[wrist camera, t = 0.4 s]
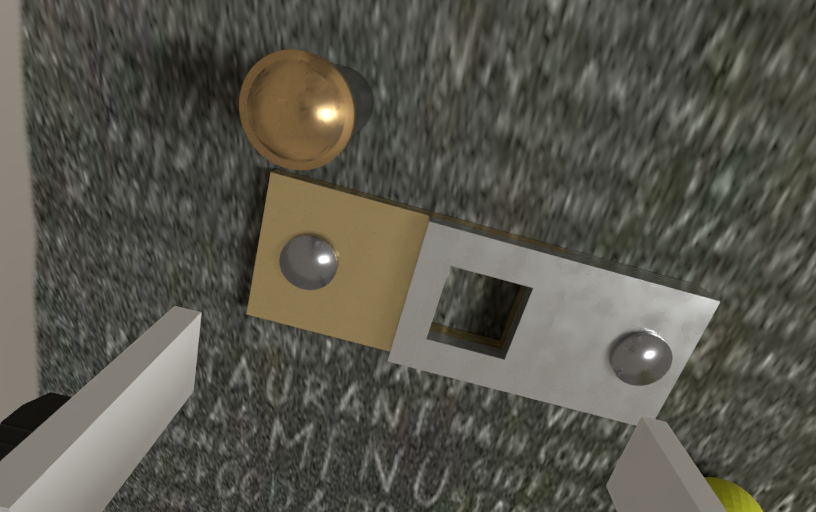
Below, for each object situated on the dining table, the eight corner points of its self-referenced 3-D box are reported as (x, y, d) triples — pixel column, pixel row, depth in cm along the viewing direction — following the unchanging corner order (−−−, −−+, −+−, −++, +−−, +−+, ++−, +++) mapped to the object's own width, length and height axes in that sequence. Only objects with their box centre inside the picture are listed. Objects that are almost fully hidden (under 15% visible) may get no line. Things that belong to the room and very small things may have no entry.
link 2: (429, 210, 37) (429, 223, 34) (699, 285, 38) (725, 305, 35) (390, 342, 41) (386, 365, 38) (634, 405, 42) (652, 433, 39)
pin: (309, 49, 34) (248, 34, 22) (387, 72, 34) (365, 68, 23) (294, 129, 35) (231, 153, 24) (368, 150, 36) (339, 183, 24)
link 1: (276, 168, 36) (268, 173, 34) (567, 248, 38) (574, 258, 36) (252, 306, 41) (243, 317, 39) (515, 374, 42) (519, 389, 40)
